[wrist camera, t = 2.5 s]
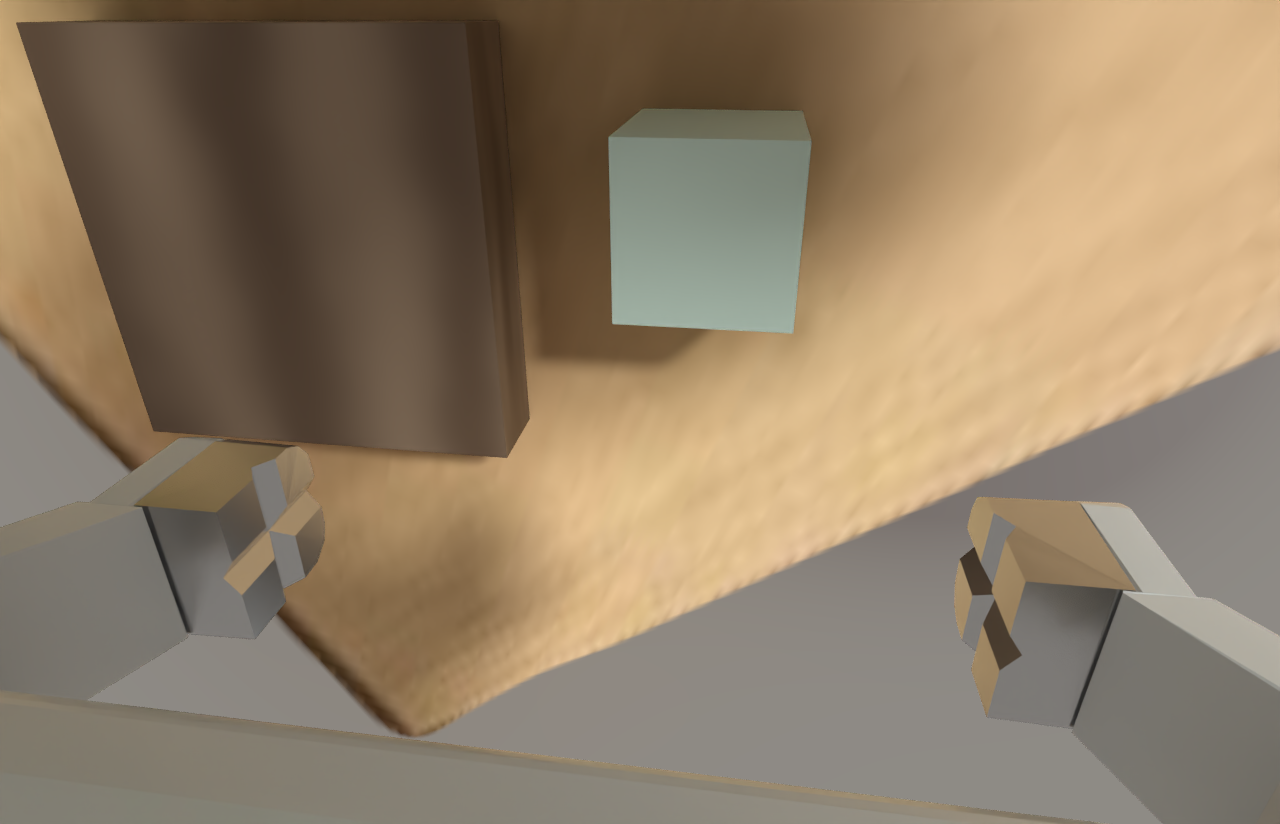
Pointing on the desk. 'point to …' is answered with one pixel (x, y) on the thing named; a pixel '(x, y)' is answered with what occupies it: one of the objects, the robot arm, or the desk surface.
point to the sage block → (708, 218)
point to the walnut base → (300, 223)
